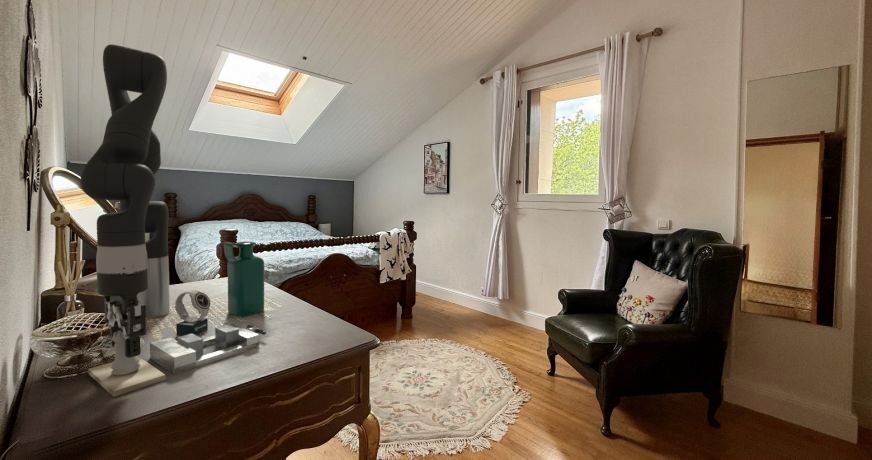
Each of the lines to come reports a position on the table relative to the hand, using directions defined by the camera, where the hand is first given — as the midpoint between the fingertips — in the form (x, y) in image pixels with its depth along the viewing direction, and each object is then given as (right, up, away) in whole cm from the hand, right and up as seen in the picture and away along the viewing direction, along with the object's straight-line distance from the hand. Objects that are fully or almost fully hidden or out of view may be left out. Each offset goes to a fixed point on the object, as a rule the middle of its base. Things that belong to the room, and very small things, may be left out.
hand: (125, 350), depth 73 cm
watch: (-3, -3, +24) cm, 24 cm away
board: (0, -5, +1) cm, 5 cm away
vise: (+9, -4, +14) cm, 17 cm away
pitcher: (+2, -2, +42) cm, 42 cm away
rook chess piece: (0, -4, +1) cm, 4 cm away
